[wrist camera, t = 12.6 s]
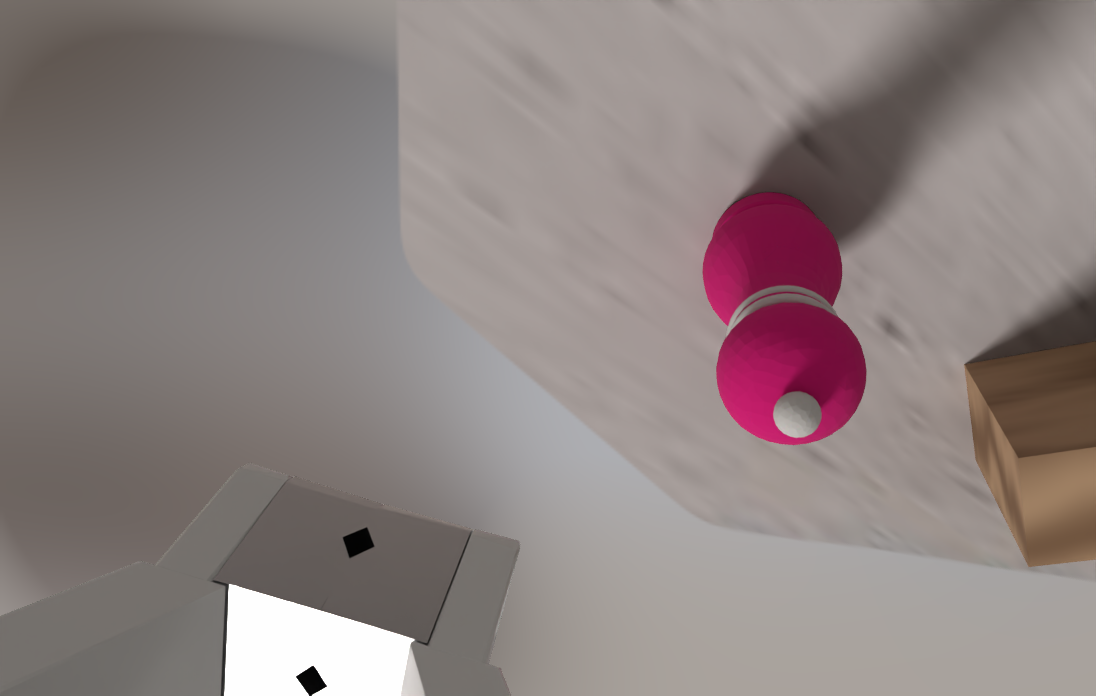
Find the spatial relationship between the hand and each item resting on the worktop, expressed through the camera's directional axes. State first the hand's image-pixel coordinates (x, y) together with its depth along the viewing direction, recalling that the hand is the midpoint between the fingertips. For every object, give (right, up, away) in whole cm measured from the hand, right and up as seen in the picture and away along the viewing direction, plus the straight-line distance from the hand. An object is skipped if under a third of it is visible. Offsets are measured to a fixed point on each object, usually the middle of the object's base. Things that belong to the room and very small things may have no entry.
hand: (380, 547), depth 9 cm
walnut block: (+33, -1, +41) cm, 53 cm away
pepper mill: (+15, +8, +40) cm, 43 cm away
